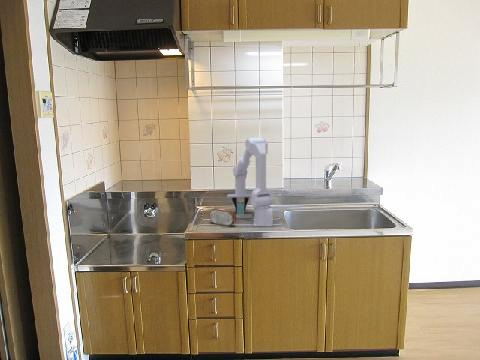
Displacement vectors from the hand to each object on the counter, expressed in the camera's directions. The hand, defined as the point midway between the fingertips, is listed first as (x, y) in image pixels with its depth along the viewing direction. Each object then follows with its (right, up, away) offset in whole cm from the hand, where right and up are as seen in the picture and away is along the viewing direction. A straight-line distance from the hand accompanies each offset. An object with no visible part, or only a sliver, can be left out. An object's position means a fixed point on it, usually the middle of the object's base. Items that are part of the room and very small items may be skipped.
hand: (240, 210), depth 221 cm
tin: (-9, -6, -21) cm, 24 cm away
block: (0, -1, 0) cm, 1 cm away
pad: (+2, -3, -9) cm, 9 cm away
